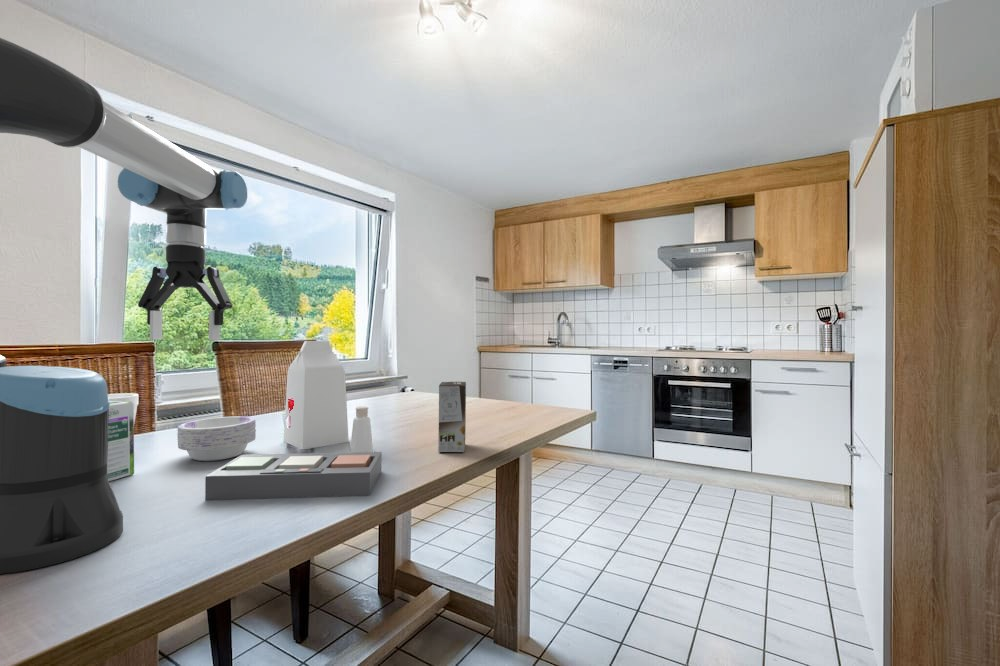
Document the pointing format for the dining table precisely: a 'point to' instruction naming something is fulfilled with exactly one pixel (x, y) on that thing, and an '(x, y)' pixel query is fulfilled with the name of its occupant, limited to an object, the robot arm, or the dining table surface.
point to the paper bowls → (216, 437)
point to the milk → (316, 398)
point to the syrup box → (120, 440)
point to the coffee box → (452, 416)
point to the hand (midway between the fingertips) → (185, 340)
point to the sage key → (251, 463)
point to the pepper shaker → (361, 432)
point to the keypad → (293, 479)
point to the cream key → (301, 462)
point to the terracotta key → (351, 461)
